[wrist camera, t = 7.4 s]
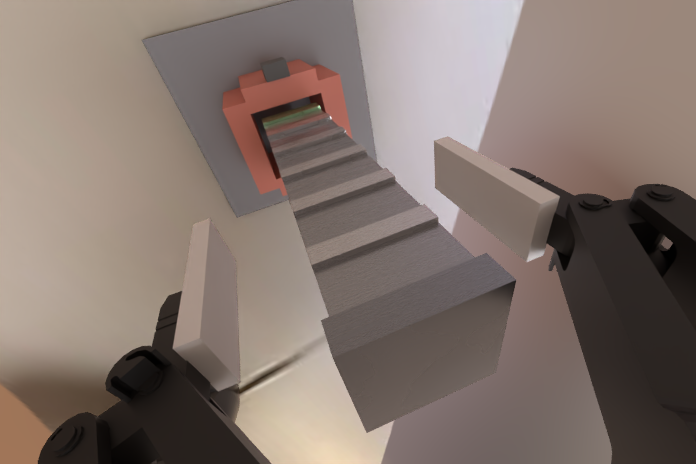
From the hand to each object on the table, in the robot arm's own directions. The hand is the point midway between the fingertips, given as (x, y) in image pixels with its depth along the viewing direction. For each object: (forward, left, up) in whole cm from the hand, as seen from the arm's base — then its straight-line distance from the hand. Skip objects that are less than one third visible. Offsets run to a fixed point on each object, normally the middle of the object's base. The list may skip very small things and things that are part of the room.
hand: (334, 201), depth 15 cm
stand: (0, 0, -17) cm, 17 cm away
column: (0, 0, -10) cm, 10 cm away
